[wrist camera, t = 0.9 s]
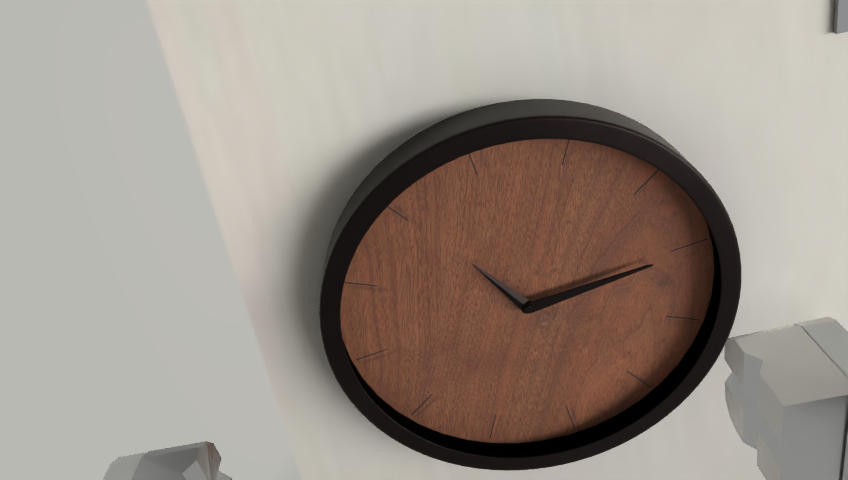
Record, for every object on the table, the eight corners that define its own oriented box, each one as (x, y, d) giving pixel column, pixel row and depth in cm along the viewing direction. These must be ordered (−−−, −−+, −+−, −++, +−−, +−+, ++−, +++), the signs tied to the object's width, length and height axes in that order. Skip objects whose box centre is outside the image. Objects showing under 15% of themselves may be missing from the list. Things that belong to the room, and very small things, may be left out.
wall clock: (306, 458, 57) (337, 87, 43) (311, 424, 61) (341, 70, 46) (667, 482, 61) (810, 146, 46) (652, 448, 64) (780, 126, 50)
